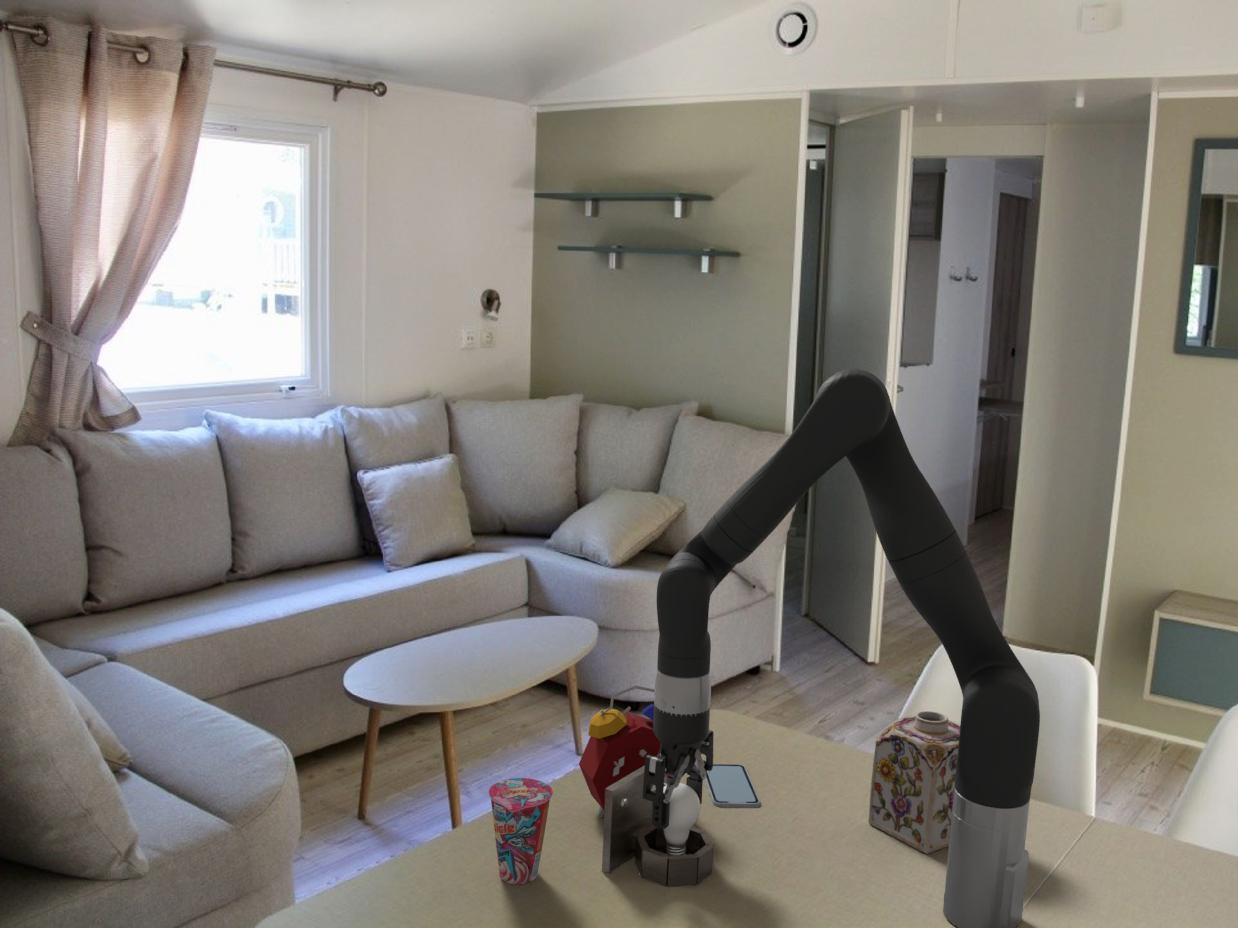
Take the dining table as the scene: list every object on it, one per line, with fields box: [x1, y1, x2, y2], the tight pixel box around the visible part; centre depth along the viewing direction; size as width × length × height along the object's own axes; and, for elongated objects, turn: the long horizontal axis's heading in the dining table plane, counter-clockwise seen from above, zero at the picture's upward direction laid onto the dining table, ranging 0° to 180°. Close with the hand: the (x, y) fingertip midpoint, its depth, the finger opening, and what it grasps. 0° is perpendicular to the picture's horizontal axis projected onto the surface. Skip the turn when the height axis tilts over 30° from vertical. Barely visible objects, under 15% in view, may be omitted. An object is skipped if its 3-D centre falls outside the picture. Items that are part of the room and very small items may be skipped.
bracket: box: [601, 765, 715, 888], centre depth 169 cm, size 12×14×12 cm
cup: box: [488, 777, 554, 885], centre depth 164 cm, size 9×8×12 cm
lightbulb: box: [663, 782, 701, 855], centre depth 168 cm, size 6×6×11 cm
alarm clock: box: [578, 685, 682, 818], centre depth 182 cm, size 15×9×20 cm, turn 111°
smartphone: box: [704, 763, 761, 808], centre depth 196 cm, size 7×1×15 cm
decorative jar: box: [868, 710, 960, 855], centre depth 182 cm, size 12×12×18 cm
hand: (677, 814), depth 168 cm, fingers open, 8 cm apart
